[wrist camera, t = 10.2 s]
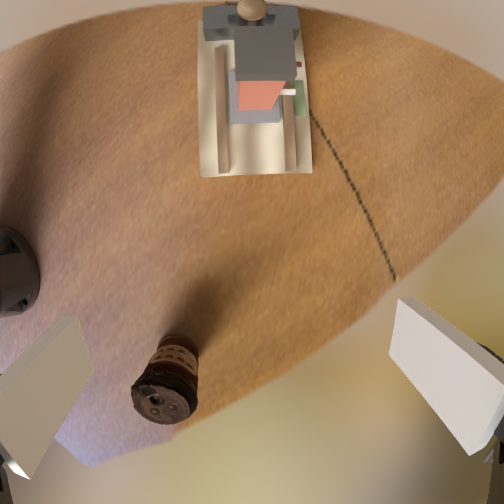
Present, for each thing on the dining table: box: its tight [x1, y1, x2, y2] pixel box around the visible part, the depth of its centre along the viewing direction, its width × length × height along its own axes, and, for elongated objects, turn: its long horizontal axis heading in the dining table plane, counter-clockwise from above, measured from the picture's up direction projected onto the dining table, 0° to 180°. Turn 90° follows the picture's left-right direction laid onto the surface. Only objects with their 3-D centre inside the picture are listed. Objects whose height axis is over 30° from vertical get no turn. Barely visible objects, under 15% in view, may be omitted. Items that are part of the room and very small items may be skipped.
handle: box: [229, 26, 297, 124], centre depth 26 cm, size 8×7×15 cm
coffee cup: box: [131, 336, 198, 425], centre depth 36 cm, size 9×8×13 cm
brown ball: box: [237, 0, 267, 21], centre depth 26 cm, size 4×4×4 cm
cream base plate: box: [198, 19, 312, 177], centre depth 33 cm, size 14×23×3 cm, turn 2°
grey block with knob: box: [203, 5, 300, 42], centre depth 29 cm, size 12×4×5 cm, turn 92°
